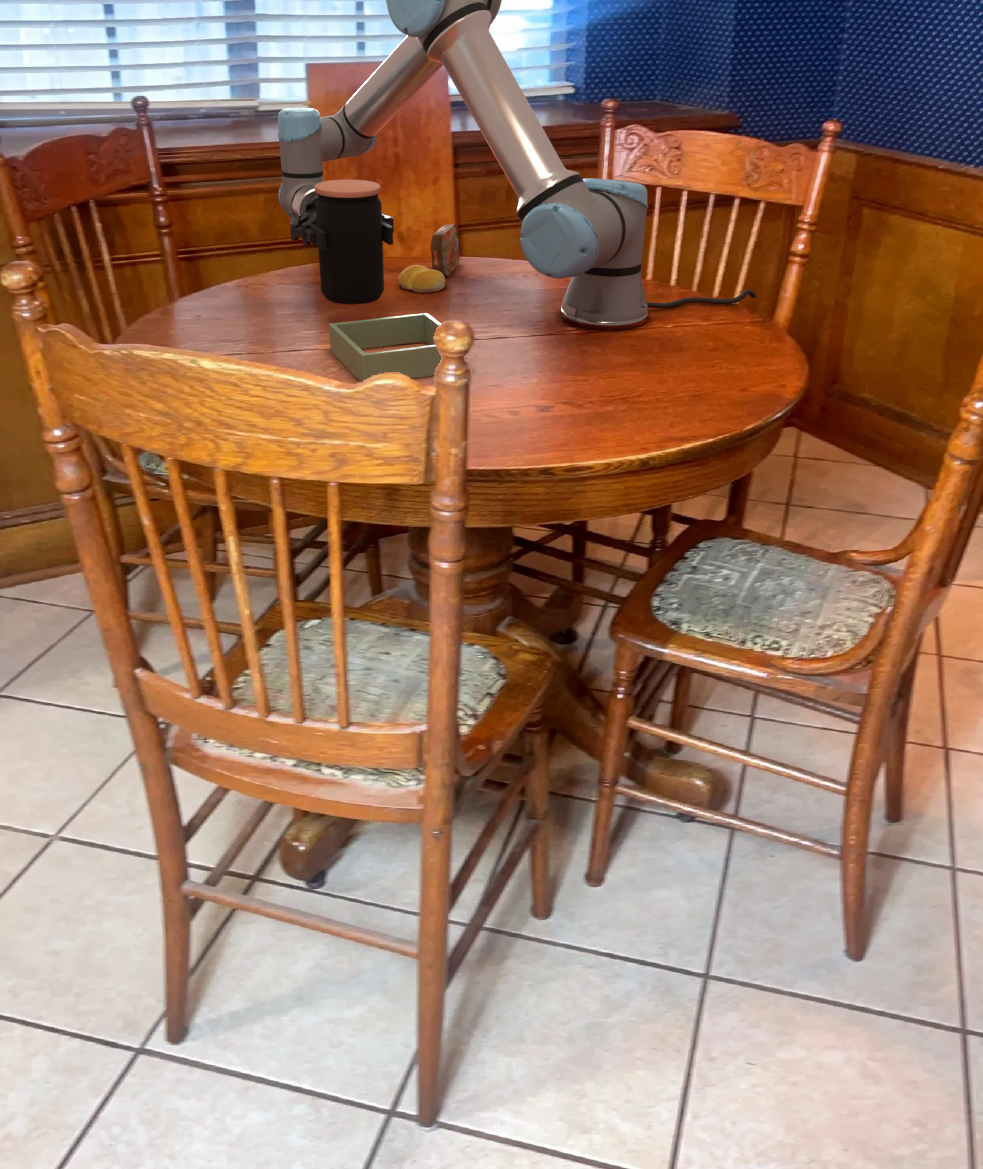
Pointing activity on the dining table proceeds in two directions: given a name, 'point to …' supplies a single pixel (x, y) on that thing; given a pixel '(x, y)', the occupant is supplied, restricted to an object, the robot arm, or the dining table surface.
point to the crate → (386, 333)
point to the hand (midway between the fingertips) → (357, 238)
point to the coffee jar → (350, 241)
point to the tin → (445, 249)
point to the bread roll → (421, 279)
